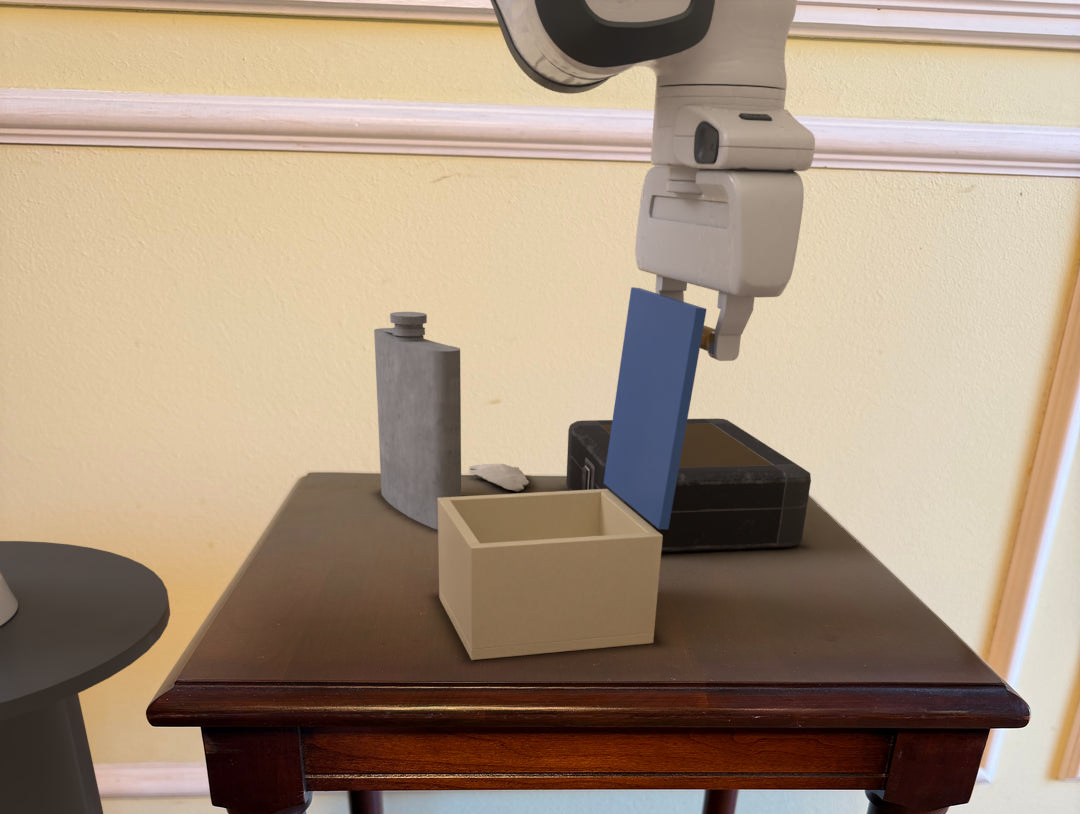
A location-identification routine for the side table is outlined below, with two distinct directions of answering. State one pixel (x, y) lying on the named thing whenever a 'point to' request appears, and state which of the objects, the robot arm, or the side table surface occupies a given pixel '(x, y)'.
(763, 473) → the cash box
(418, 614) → the side table surface
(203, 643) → the side table surface
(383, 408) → the hip flask
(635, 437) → the lid
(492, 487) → the side table surface
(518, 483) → the arrowhead
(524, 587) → the chest
